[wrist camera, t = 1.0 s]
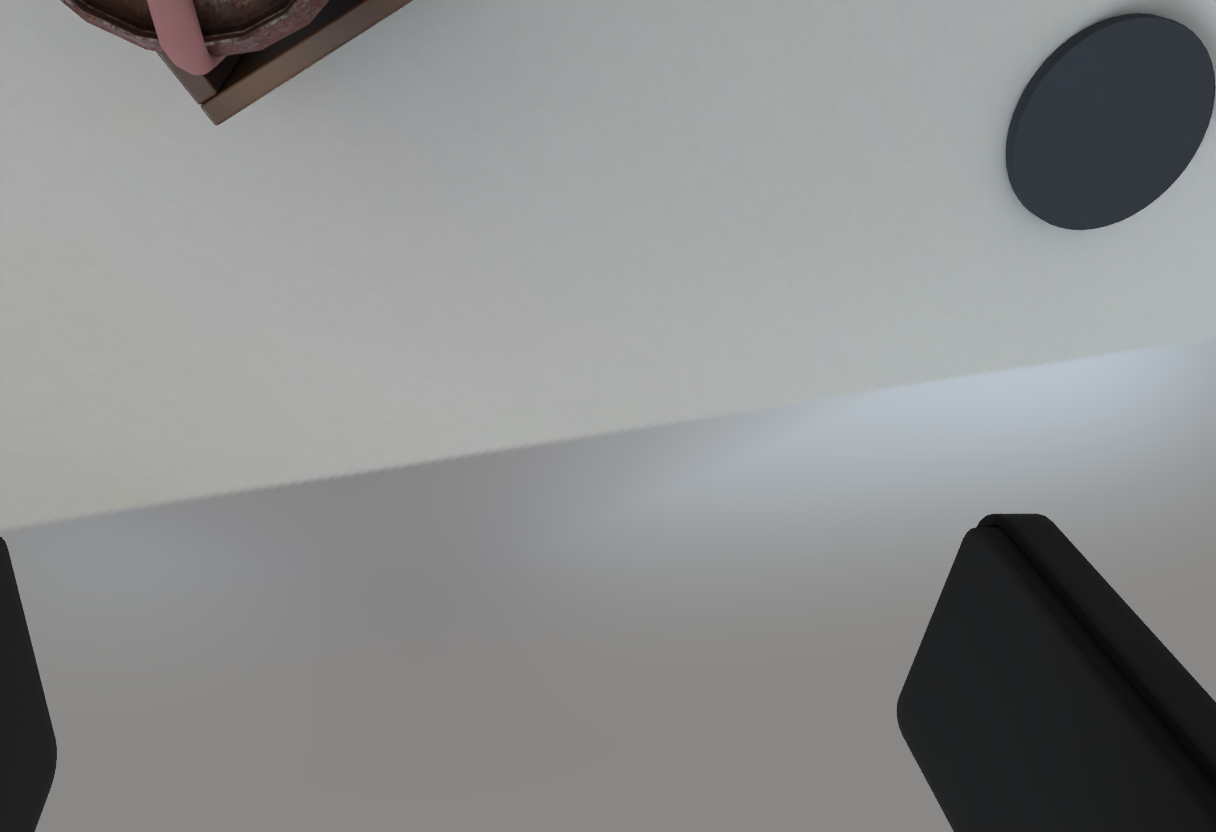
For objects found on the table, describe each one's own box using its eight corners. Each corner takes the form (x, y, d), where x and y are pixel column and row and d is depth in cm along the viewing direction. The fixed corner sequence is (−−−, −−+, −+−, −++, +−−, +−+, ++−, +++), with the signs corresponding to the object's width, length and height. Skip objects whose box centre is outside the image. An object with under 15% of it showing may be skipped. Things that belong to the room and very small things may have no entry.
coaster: (1188, -31, 32) (1200, -29, 32) (1216, 159, 36) (1227, 163, 36) (981, 87, 33) (990, 92, 33) (1032, 259, 37) (1040, 266, 37)
